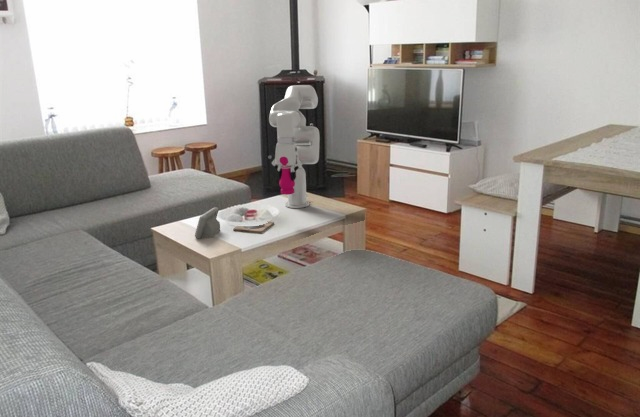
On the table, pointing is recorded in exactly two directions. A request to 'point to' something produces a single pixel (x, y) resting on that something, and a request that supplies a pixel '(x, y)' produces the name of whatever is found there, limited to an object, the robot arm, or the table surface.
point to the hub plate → (254, 228)
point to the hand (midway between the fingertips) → (287, 179)
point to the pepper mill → (286, 178)
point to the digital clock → (208, 224)
